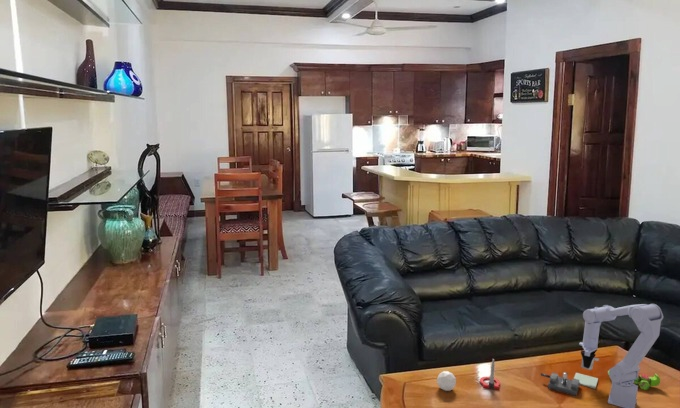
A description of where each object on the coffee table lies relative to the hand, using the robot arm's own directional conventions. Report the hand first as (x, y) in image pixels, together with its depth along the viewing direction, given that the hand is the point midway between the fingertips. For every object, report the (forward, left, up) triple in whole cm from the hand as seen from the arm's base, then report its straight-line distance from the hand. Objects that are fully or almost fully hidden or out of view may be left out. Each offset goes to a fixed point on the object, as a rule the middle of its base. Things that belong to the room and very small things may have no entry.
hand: (587, 365), depth 226 cm
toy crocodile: (-18, -10, -8) cm, 22 cm away
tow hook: (+34, +26, -8) cm, 44 cm away
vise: (+9, +11, -8) cm, 16 cm away
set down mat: (0, 0, -8) cm, 8 cm away
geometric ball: (+48, +41, -8) cm, 64 cm away
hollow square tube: (0, 0, -1) cm, 1 cm away
